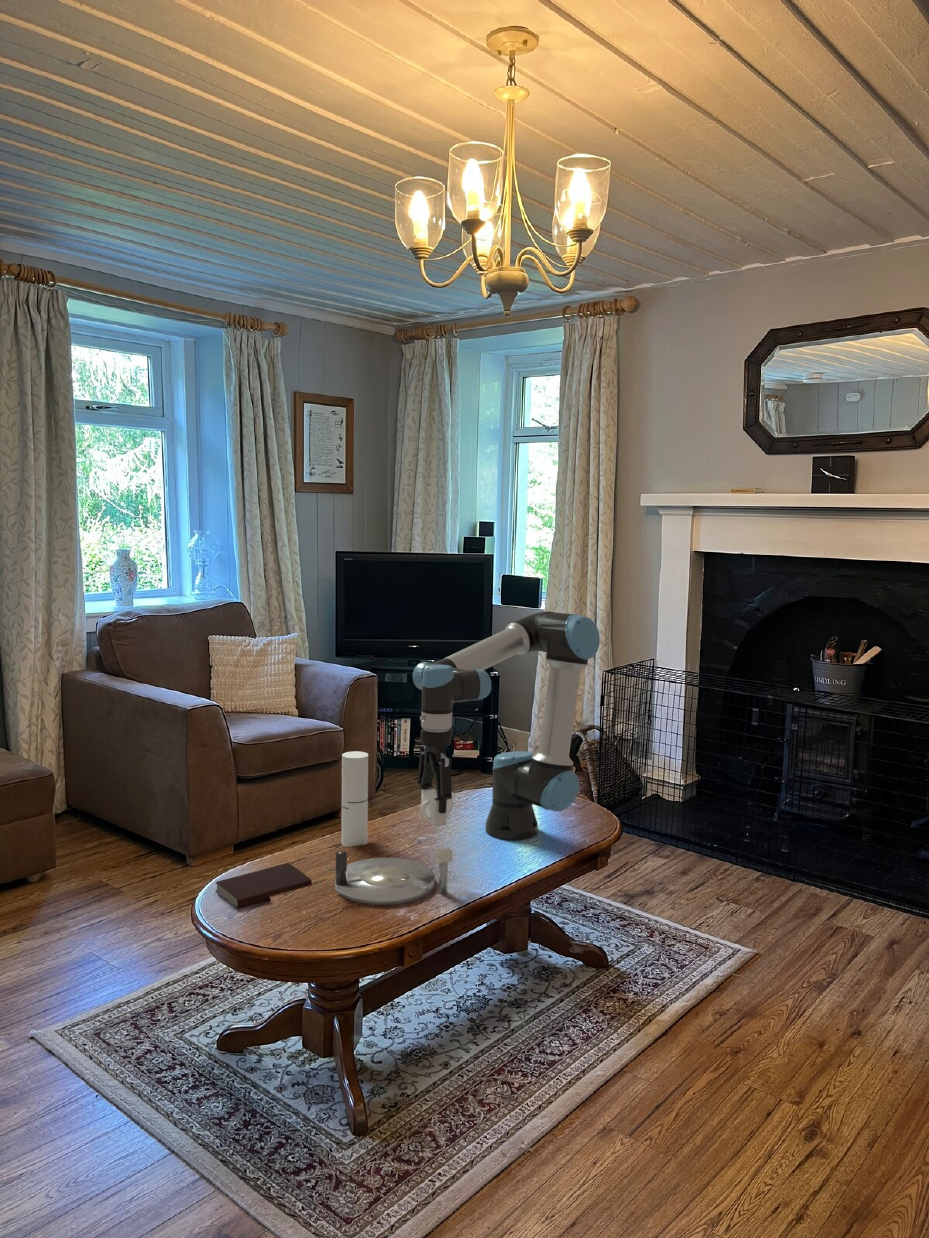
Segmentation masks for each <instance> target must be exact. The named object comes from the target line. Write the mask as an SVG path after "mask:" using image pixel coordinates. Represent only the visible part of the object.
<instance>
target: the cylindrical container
mask: <svg viewBox="0 0 929 1238" xmlns="http://www.w3.org/2000/svg"><path fill="white" fill-rule="evenodd" d="M368 807H369V753H368V752H365V751H354V750H353V751H346V752H344V753H342V754H341V845H342V846H343V847H346V848H349V847H356V846H357V847H358V846H363V845H368V827H369V825H368V823H369V822H368V821H369V820H368V819H369V818H368V817H369V816H368V815H369V814H368V813H369V811H368V810H369V808H368Z"/></svg>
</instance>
